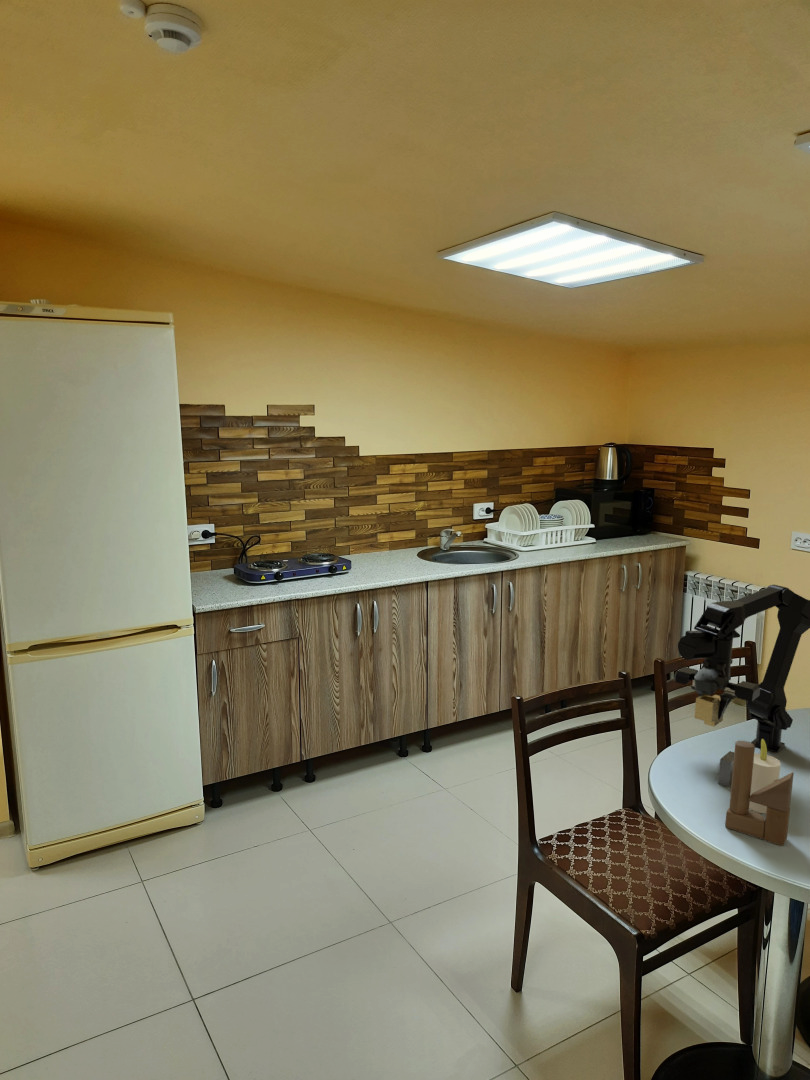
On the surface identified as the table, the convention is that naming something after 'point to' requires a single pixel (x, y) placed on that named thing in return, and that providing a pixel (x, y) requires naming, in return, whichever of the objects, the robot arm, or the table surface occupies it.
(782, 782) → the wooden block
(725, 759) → the block with metal peg
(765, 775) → the candle
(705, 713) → the square hoop paddle
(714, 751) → the table surface
